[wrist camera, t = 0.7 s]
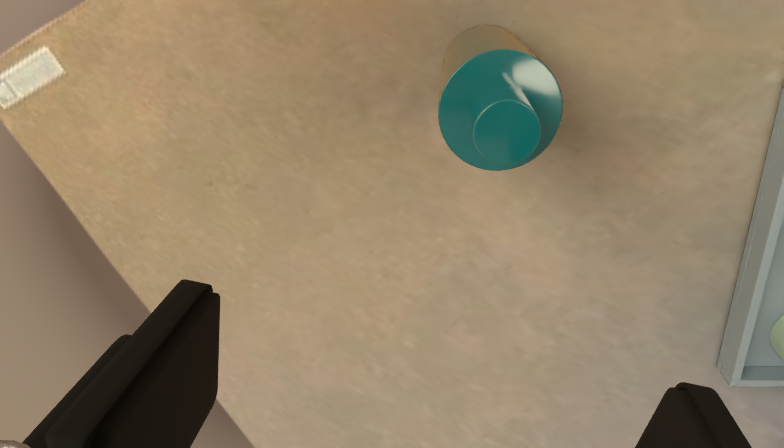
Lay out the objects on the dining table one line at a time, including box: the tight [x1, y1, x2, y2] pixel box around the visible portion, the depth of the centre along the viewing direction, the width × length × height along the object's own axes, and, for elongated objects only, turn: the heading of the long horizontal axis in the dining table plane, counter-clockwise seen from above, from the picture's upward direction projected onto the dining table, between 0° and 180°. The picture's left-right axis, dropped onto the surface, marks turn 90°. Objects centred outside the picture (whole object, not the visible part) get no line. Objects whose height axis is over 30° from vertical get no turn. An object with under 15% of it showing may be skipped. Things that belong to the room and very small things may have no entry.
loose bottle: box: [438, 25, 563, 171], centre depth 25 cm, size 5×5×14 cm
